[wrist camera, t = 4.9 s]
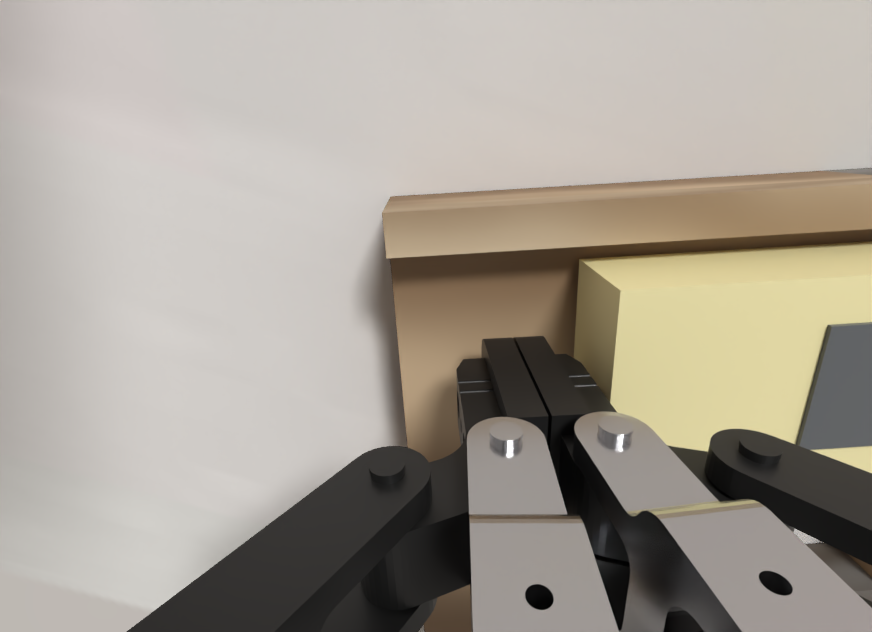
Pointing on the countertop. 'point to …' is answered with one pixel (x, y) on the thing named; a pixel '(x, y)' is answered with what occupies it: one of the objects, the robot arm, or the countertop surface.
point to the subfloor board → (575, 278)
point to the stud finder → (736, 343)
